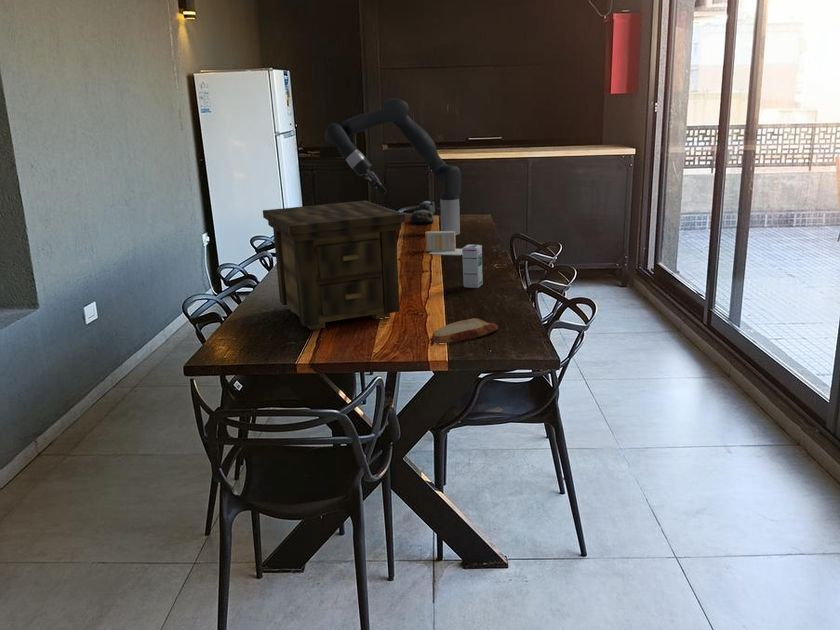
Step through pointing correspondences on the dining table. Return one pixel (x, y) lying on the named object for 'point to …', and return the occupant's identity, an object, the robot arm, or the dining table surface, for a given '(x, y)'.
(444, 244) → the supplement box
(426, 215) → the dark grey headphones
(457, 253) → the felt pad
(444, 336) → the slice of bread
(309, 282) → the wooden bedside nightstand
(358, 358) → the dining table surface
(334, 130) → the robot arm
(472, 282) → the syrup box
